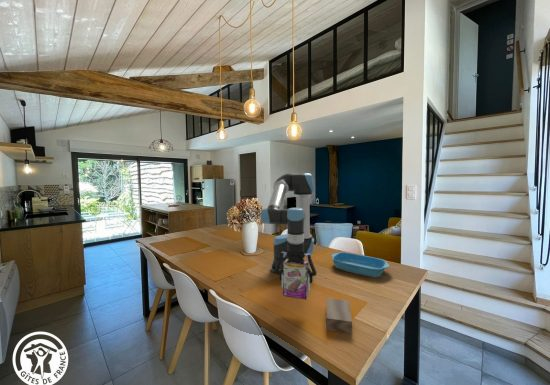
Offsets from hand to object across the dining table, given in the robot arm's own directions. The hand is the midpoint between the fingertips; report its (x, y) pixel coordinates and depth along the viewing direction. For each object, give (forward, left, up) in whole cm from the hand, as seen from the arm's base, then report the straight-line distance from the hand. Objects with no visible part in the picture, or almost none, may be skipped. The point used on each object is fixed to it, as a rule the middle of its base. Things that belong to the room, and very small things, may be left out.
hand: (295, 288), depth 107 cm
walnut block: (+19, -2, -11) cm, 22 cm away
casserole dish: (+34, +58, -12) cm, 68 cm away
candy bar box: (0, 0, -4) cm, 4 cm away
